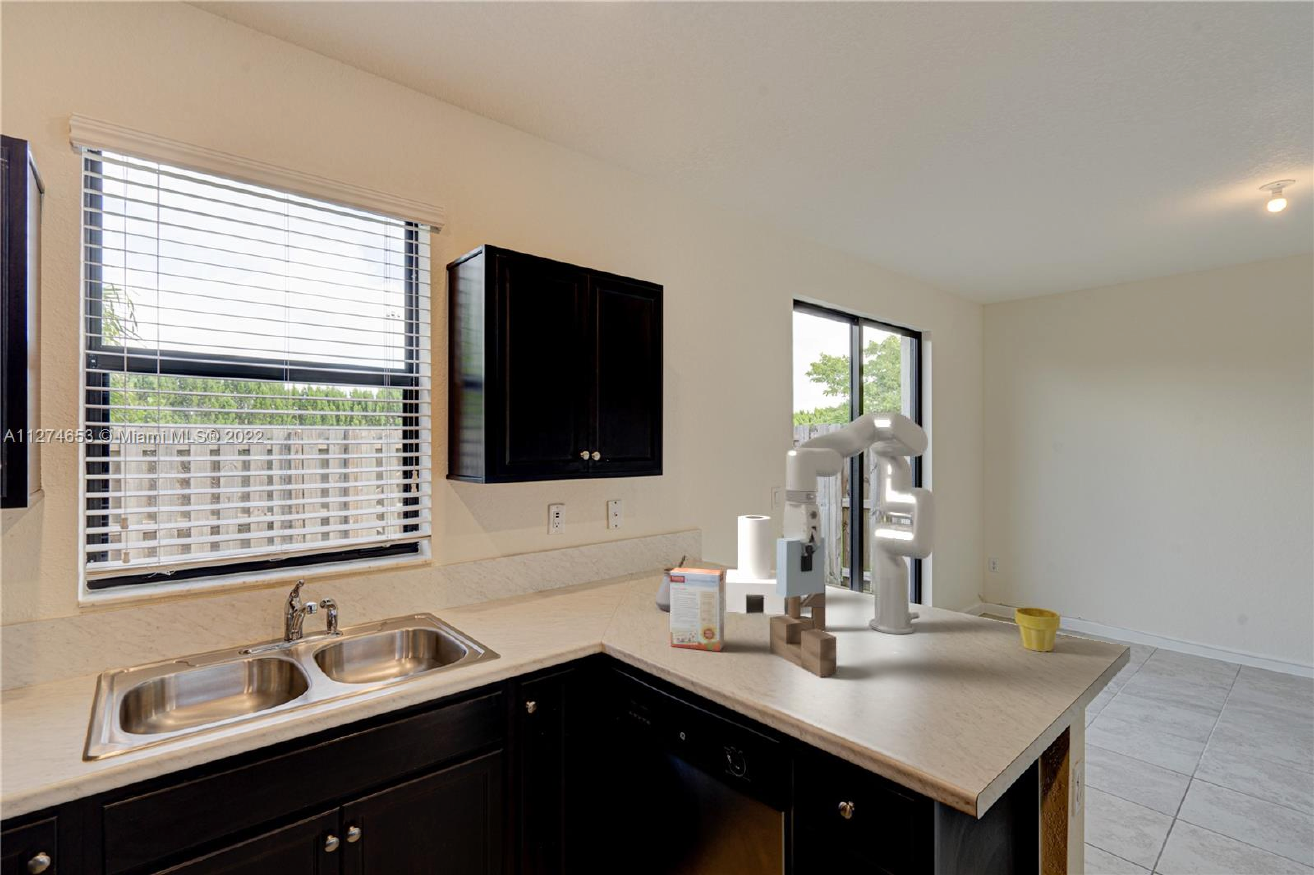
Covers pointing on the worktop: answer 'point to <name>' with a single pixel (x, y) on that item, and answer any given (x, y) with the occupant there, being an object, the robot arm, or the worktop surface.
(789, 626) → the walnut crosspiece
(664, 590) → the coffee pot
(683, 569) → the cracker box
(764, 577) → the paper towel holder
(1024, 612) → the plant pot
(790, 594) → the pale blue tall box
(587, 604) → the worktop surface
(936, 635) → the worktop surface
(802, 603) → the wooden block structure
